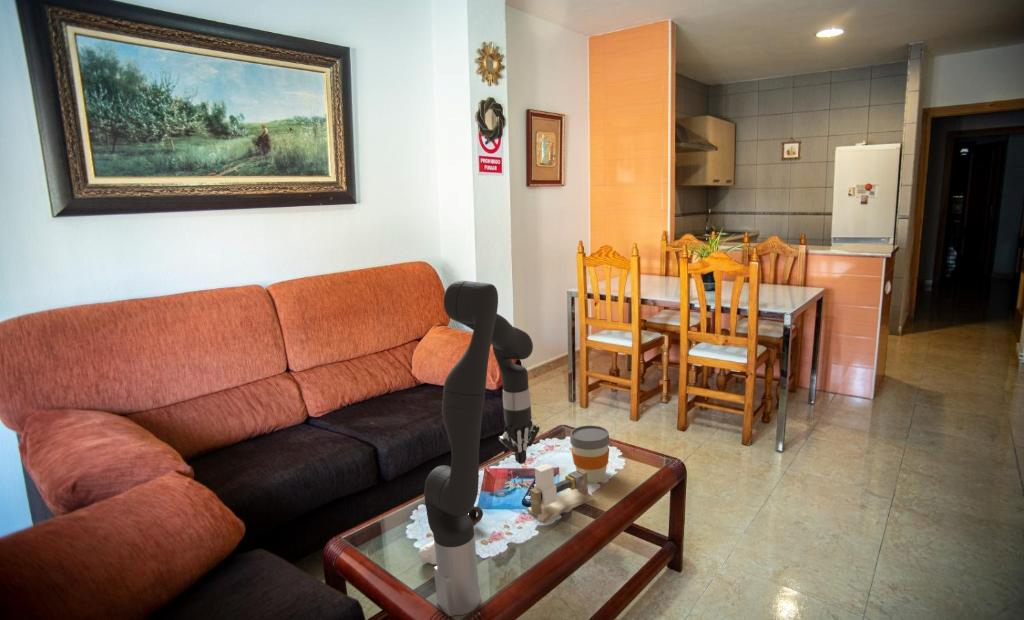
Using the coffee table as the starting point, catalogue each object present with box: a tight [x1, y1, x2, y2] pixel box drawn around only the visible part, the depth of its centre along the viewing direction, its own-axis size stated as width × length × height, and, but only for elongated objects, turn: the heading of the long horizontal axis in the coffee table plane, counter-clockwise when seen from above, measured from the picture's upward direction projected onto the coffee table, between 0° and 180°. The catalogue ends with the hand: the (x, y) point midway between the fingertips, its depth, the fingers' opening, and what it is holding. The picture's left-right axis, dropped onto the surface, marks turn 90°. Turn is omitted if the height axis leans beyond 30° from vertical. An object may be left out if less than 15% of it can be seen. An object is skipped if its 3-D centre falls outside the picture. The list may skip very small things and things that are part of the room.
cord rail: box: [526, 469, 594, 523], centre depth 178 cm, size 19×7×8 cm, turn 124°
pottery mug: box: [467, 505, 484, 527], centre depth 172 cm, size 12×10×8 cm
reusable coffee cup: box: [569, 424, 611, 484], centre depth 193 cm, size 13×12×15 cm
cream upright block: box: [533, 463, 558, 506], centre depth 174 cm, size 4×5×10 cm
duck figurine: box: [417, 531, 437, 566], centre depth 155 cm, size 12×8×11 cm
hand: (521, 462), depth 168 cm, fingers closed
